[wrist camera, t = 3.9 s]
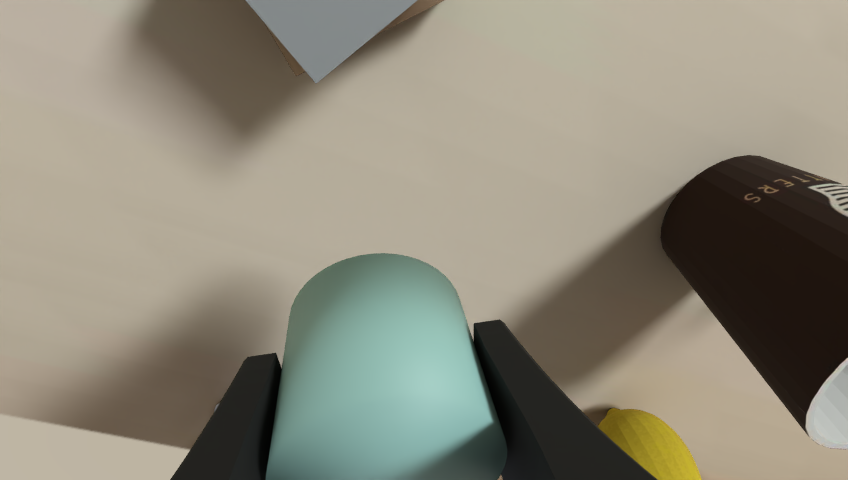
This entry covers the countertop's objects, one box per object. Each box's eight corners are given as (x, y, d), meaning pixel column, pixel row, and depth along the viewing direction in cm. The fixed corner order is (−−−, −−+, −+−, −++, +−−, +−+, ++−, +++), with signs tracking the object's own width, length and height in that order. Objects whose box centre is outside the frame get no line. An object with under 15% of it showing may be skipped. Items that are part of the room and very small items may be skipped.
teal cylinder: (343, 400, 13) (343, 556, 10) (252, 300, 11) (210, 462, 7) (483, 343, 13) (533, 485, 9) (421, 224, 10) (458, 360, 7)
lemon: (641, 426, 32) (717, 549, 26) (568, 440, 32) (626, 568, 25) (658, 376, 29) (749, 501, 23) (577, 390, 29) (646, 522, 22)
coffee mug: (605, 254, 23) (753, 428, 15) (731, 100, 19) (1026, 217, 11) (746, 311, 27) (922, 472, 19) (871, 194, 23) (1160, 330, 15)
